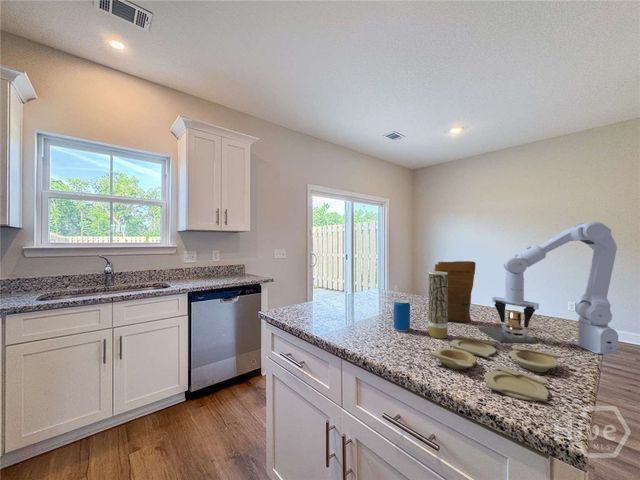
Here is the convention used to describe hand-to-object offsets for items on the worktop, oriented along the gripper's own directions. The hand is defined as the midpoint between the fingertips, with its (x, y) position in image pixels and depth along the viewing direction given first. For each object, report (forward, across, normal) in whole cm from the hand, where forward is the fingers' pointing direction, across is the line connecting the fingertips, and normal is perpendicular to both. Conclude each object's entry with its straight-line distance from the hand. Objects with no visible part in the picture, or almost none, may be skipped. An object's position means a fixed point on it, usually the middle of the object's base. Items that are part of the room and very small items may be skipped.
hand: (514, 324), depth 103 cm
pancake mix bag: (+6, +25, -3) cm, 25 cm away
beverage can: (+6, +32, +27) cm, 42 cm away
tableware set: (+6, -4, +32) cm, 33 cm away
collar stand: (+5, +3, 0) cm, 6 cm away
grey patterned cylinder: (+6, +19, +22) cm, 29 cm away
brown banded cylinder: (+4, 0, 0) cm, 4 cm away
